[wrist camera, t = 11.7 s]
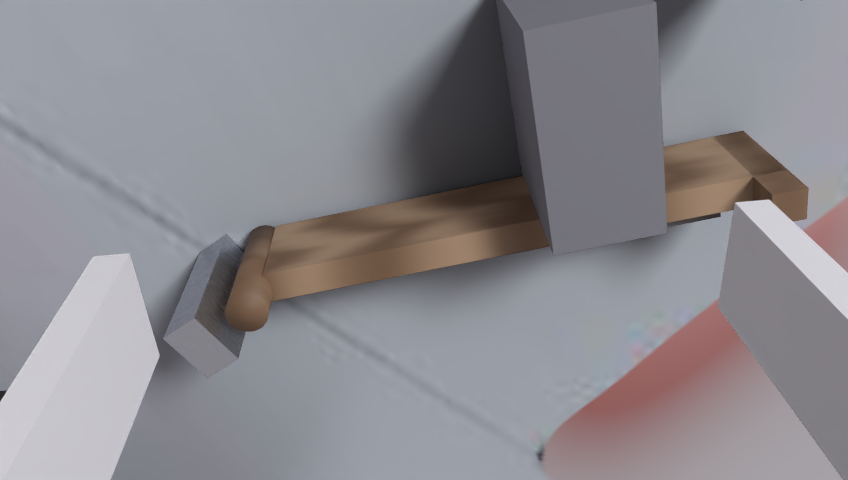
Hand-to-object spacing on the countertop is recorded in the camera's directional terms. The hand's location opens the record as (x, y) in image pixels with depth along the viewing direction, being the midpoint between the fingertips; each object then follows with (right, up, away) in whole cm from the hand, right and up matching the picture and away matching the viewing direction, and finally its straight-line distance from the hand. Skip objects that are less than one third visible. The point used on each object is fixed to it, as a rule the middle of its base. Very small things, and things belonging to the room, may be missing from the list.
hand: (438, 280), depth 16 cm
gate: (+3, +3, +24) cm, 25 cm away
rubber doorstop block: (+6, +9, +22) cm, 24 cm away
